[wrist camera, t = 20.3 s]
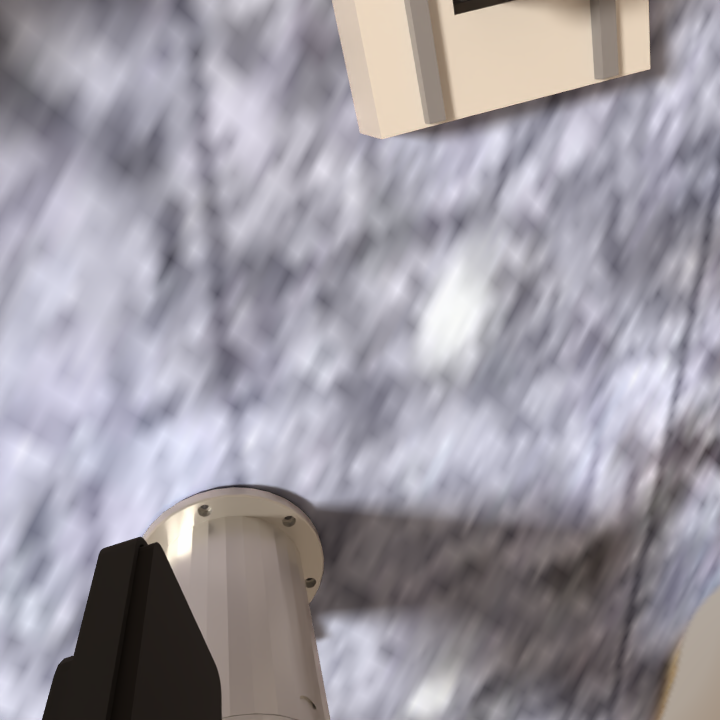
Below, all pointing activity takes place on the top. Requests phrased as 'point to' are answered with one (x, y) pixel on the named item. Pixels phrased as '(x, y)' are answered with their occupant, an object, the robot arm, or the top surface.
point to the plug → (459, 1)
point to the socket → (480, 54)
